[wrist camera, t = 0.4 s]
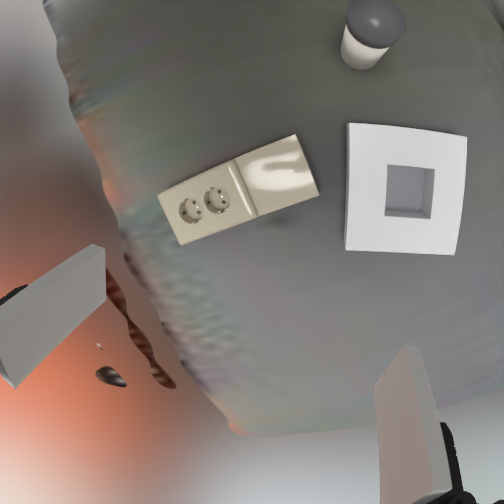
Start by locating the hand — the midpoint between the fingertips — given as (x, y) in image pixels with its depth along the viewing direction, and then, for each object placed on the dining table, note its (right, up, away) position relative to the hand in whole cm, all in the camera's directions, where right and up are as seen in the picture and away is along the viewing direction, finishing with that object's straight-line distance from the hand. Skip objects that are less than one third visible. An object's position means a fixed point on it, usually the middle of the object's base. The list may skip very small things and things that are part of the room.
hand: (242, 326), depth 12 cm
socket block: (+18, +11, +20) cm, 29 cm away
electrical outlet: (-1, +11, +25) cm, 28 cm away
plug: (+13, +26, +15) cm, 33 cm away
